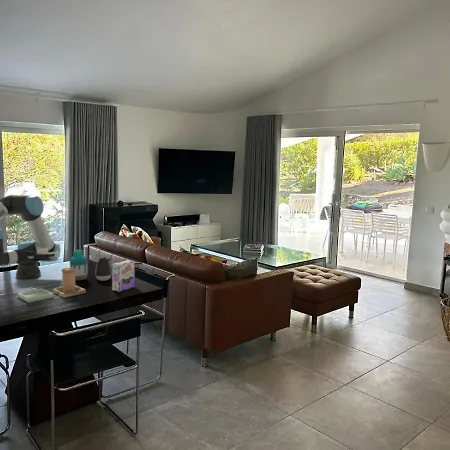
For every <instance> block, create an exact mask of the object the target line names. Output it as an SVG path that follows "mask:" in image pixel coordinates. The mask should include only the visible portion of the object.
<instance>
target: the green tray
mask: <svg viewBox="0 0 450 450" xmlns="http://www.w3.org/2000/svg"><path fill="white" fill-rule="evenodd" d="M17 298H19V299H20V300H22V301H24V302H26V303H27V304H28V303H33V302H39V301H40V302H41V301H44V300H49V299H53V298H54V293H53V292H51V291H49V290H47V289H45V288H43V287H41V288H36V289H31V290H26V291H19V292H17Z"/></svg>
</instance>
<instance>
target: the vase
mask: <svg viewBox="0 0 450 450" xmlns="http://www.w3.org/2000/svg"><path fill="white" fill-rule="evenodd" d="M69 268H75V281H83V280H85V279H86V278H87V276H88V259H87V257H86V256H84V254H83V249H82V250H80V249H76V250H74V251H73V255H72V257H70V260H69Z"/></svg>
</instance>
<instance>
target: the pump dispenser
mask: <svg viewBox="0 0 450 450" xmlns="http://www.w3.org/2000/svg"><path fill="white" fill-rule="evenodd" d="M111 260H112V259H111V258H107V257H106V256H100V257H99V259H98V260H97V264H96V265H95V266H96V267H95V277H96V279H97V280H99V281H101V282H104V281H108V280H110V279H111V278H112V265H111V264H110V261H111Z"/></svg>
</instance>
